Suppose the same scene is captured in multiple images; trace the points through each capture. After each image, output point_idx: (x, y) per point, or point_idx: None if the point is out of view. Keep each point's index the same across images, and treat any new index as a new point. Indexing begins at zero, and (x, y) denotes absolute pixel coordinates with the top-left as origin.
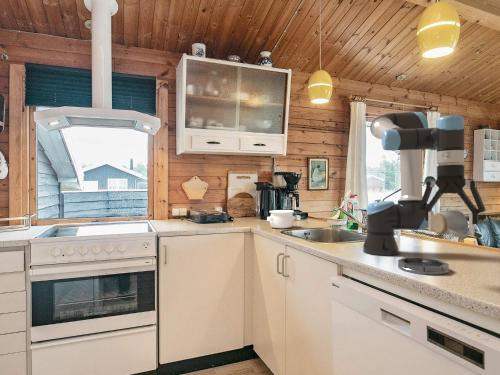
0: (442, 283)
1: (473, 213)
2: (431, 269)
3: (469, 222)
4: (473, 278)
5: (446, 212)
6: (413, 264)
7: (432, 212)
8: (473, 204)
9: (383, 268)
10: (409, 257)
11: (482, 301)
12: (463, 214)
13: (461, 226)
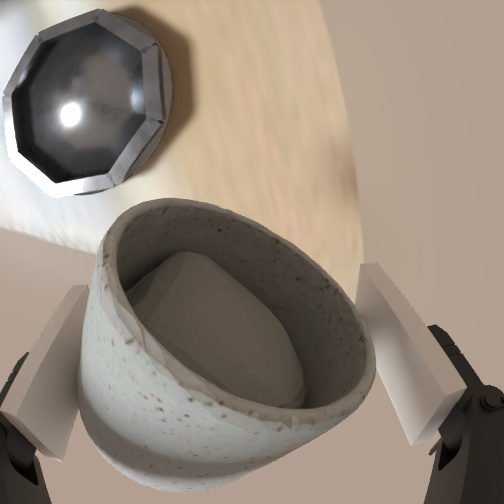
0: None
1: (443, 439)
2: (135, 161)
3: (387, 386)
4: (271, 86)
5: (203, 485)
6: (47, 110)
7: (37, 428)
8: (501, 481)
9: (18, 215)
10: (11, 79)
11: None
12: (361, 401)
13: (317, 355)
